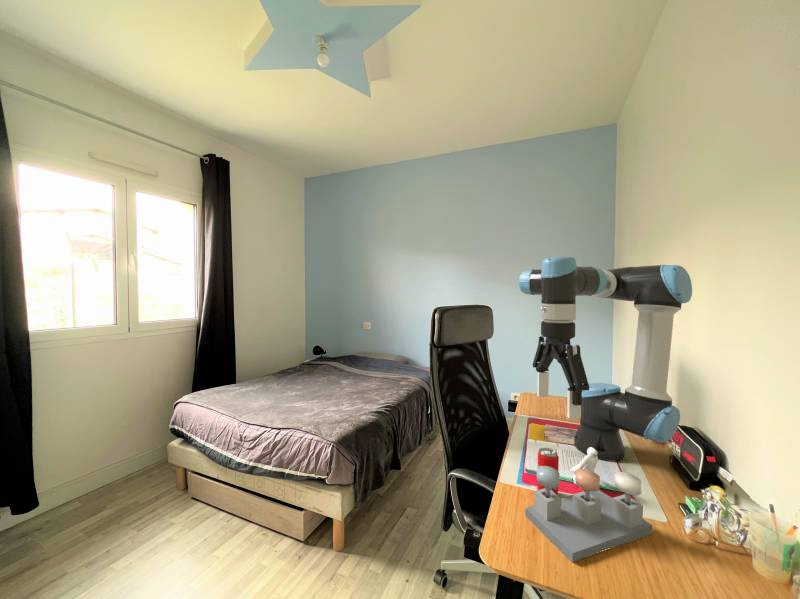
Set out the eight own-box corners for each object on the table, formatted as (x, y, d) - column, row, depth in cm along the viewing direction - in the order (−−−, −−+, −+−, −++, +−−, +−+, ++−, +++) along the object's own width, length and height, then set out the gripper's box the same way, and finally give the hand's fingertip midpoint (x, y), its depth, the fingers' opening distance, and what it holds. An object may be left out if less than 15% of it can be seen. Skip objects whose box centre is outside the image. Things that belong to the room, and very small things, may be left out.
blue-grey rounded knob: (547, 490, 79) (548, 464, 79) (563, 503, 74) (564, 475, 74) (531, 495, 77) (532, 468, 77) (547, 508, 73) (547, 479, 72)
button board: (596, 495, 85) (597, 472, 85) (652, 533, 72) (652, 506, 72) (525, 515, 78) (525, 490, 77) (572, 562, 64) (573, 532, 64)
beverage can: (560, 502, 82) (561, 458, 82) (539, 499, 83) (540, 456, 83) (554, 489, 88) (555, 448, 87) (535, 487, 89) (535, 446, 88)
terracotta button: (585, 494, 78) (586, 467, 77) (604, 507, 73) (604, 478, 73) (570, 498, 76) (570, 471, 76) (588, 512, 71) (588, 483, 71)
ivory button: (624, 497, 76) (625, 470, 76) (645, 511, 72) (646, 482, 71) (609, 502, 75) (610, 474, 75) (630, 516, 70) (631, 486, 70)
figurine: (585, 495, 85) (586, 452, 85) (562, 478, 93) (563, 439, 92) (606, 489, 88) (606, 448, 87) (581, 473, 95) (582, 435, 95)
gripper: (520, 316, 88) (519, 389, 89) (574, 327, 63) (573, 430, 64) (545, 315, 88) (545, 389, 89) (609, 327, 64) (608, 428, 64)
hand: (557, 406), depth 77 cm, fingers open, 13 cm apart
